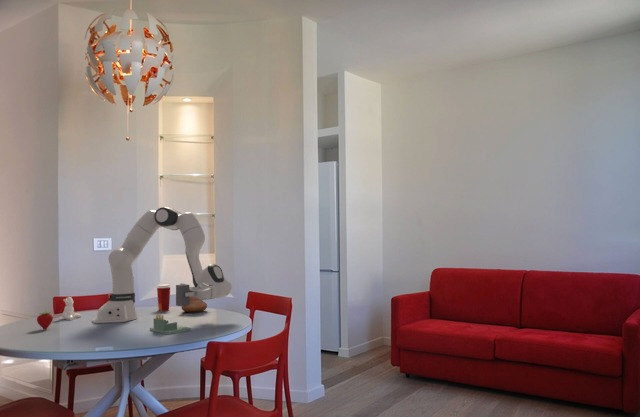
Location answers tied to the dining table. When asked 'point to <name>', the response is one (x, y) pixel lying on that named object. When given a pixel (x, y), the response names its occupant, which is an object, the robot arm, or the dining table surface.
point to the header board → (167, 326)
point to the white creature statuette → (69, 310)
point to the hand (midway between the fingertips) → (181, 294)
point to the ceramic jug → (195, 305)
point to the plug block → (182, 295)
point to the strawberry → (44, 320)
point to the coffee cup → (163, 297)
